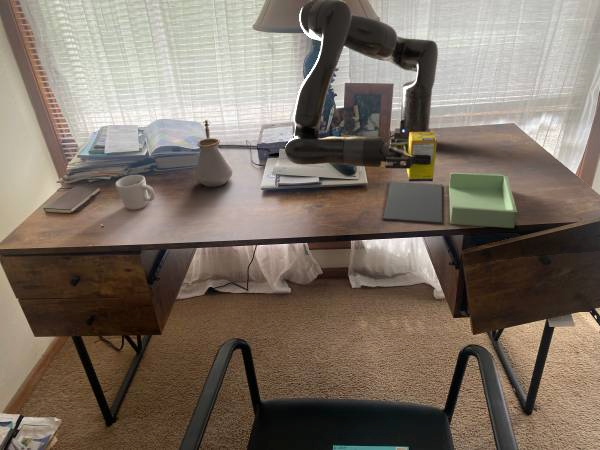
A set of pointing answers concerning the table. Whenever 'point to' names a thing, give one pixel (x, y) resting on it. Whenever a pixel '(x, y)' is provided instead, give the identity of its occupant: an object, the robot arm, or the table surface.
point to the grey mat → (414, 203)
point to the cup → (134, 191)
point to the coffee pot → (212, 162)
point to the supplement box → (422, 146)
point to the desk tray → (481, 200)
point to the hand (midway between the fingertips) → (430, 154)
